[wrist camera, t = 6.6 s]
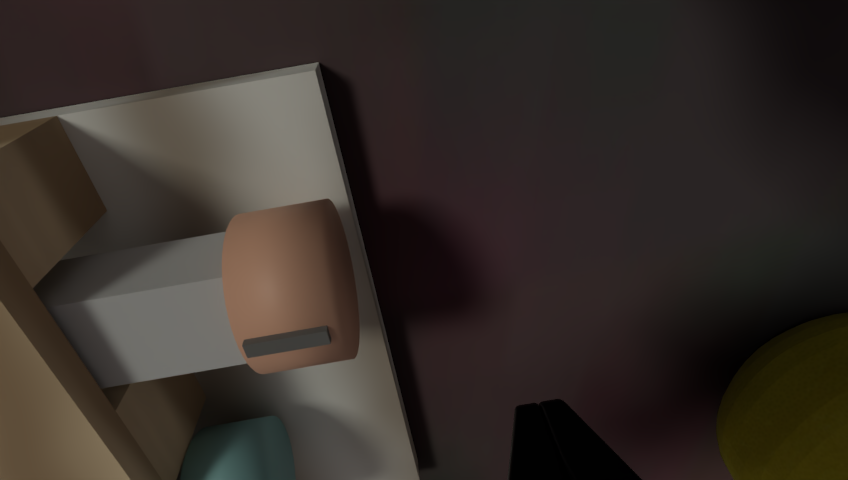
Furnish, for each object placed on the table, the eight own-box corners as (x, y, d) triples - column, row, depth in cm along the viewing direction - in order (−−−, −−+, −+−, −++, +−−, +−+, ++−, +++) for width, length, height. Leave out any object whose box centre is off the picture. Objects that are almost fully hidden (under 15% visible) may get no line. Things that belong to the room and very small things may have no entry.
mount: (318, 62, 15) (289, 128, 10) (417, 460, 24) (429, 599, 19) (-63, 129, 15) (-287, 229, 10) (183, 500, 24) (133, 649, 19)
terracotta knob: (329, 172, 15) (312, 258, 11) (361, 293, 17) (357, 400, 13) (-4, 230, 15) (-139, 336, 11) (71, 343, 17) (-17, 464, 13)
